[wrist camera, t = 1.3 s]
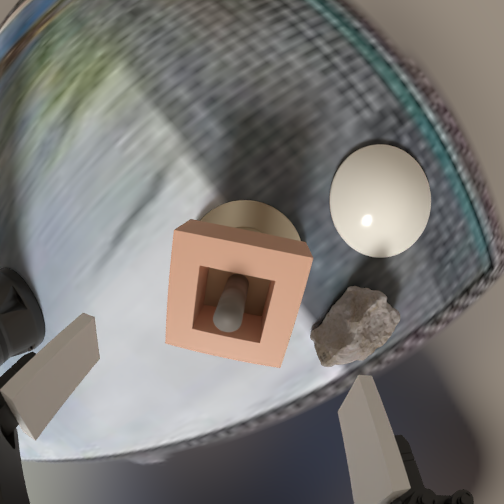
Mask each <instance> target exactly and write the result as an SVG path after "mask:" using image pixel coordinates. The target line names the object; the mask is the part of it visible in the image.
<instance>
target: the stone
mask: <svg viewBox="0 0 504 504" xmlns="http://www.w3.org/2000/svg"><path fill="white" fill-rule="evenodd" d="M386 301H387V297H386V295H384V294H383V293H382V292H381V291H378V290H374V291H373V290H370V289H369V288H360V287H357V286H350V287H348V288H347V290H346V291H345V293H344V294H343V296H342V297H341V298H340V299H339V300H338V301H337V302H336V303H335V305H333V306H332V307H331V309H330V311H329V313H327V314H326V317H325V319H324V320H323V322H322V324H321V325H320V326H319V327H318V328H316V329H313V330H312V331H311V335H310V338H311V340H313V341H314V344H315V349H316V352H317V355H318V358H319V360H320V361H321V365H322V366H324V367H331V366H333V365H335V364H336V365H341V364H347V363H349V362H353V361H355V360H365V358H367V357H368V356H369V355H371V354H372V353H373V352H374V351H375V349H376V348H378V347H381V346H383V344H385V343H386V342H387V339H388V338H390V336H391V335H392V332H394V330H395V327H396V325H397V324H398V322H399V321H400V313H399V312H398V310H396V309H395V308H392V307H391V306H390V305H389V304H388V303H387V302H386Z"/></svg>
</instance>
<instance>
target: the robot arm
mask: <svg viewBox="0 0 504 504" xmlns="http://www.w3.org/2000/svg"><path fill="white" fill-rule="evenodd" d="M44 336H45V326H44V321H43V317H42V313H41V311H40V308H39V305H38V303H37V301H36V299H35V297H34V295H33V293H32V292H31V290H30V288H29V287H28V285H27V284H26V283H25V281H24V280H23V279H22V278H21V277H20V276H19V275H18V274H17V273H16V272H15V271H13V270H11V269H9V268H2V269H0V366H1V365H2V364H3V363H4V362H5V361H6V360H8V359H9V358H10V357H13V356H16V355H19V354H22V353H25V352H27V351H31V350H33V349H35V348H36V347H37V346H38V345H39V344H41V343H42V341H43V339H44ZM99 359H100V355H99V349H98V341H97V334H96V325H95V317H93V316H90V315H88V314H85V313H82V314H81V315H80V316H79V317H78V318H76V319H75V320H74V321H73V322H72V323H71V324H69V325H68V326H67V327H66V328H65V329H64V330H63V331H61V332H60V333H59V334H58V335H57V336H56V337H55V338H54V339H52V340H51V341H50V342H49V343H48V344H47V345H46V346H45V347H44V348H43V349H41V350H40V351H39V352H38V353H37V354H36V353H34V352H30V353H28V354H26V355H24V356H22V357H21V358H20V359H19V360H18V361H17V363H15V364H14V365H13V366H12V367H11V368H9V369H8V370H7V371H6V372H5V373H4V374H3V375H2V376H1V377H0V504H30V502H29V498H28V494H27V490H26V485H25V480H24V476H23V470H22V464H21V458H20V450H19V442H18V433H17V429H16V427H17V426H18V425H19V426H20V427H21V429H22V430H23V432H24V433H26V434H27V435H28V436H30V437H31V438H33V439H34V440H35V441H36V440H37V438H38V437H39V435H40V434H41V433H42V431H43V430H44V429H45V427H46V426H47V425H48V423H49V422H50V421H51V419H52V418H53V417H54V415H55V414H56V413H57V411H58V410H59V409H60V408H61V406H62V405H63V404H64V402H65V401H66V400H67V399H68V397H69V396H70V395H71V393H72V392H73V391H74V390H75V388H76V387H77V386H78V385H79V383H80V382H81V381H82V380H83V378H84V377H85V376H86V375H87V374H88V372H89V371H90V370H91V369H92V367H93V366H94V365H95V364H96V363H97V361H98V360H99ZM338 415H339V419H340V424H341V430H342V435H343V440H344V445H345V451H346V456H347V461H348V468H349V473H350V479H351V486H352V492H353V499H354V504H473V502H474V501H473V496H472V494H471V493H470V492H469V491H467V490H464V489H463V490H459V491H457V492H455V493H454V494H453V495H451V496H441V495H436V494H435V493H434V492H433V491H432V490H430V489H426V488H425V487H424V485H423V482H422V479H421V476H420V473H419V470H418V468H417V465H416V462H415V461H414V456H413V454H412V451H411V448H410V445H409V443H408V441H407V440H406V439H405V438H404V437H403V436H402V435H395V436H394V434H393V431H392V429H391V425H390V423H389V420H388V417H387V414H386V412H385V409H384V407H383V404H382V401H381V398H380V396H379V393H378V391H377V388H376V386H375V383H374V381H373V378H372V376H365V375H358V376H357V378H356V380H355V382H354V384H353V386H352V388H351V389H350V391H349V393H348V395H347V397H346V398H345V400H344V402H343V404H342V405H341V407H340V409H339V410H338Z"/></svg>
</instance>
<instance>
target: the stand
mask: <svg viewBox="0 0 504 504" xmlns="http://www.w3.org/2000/svg"><path fill="white" fill-rule="evenodd" d="M200 221H203V222H209V223H214V224H219V225H224V226H229V227H234V228H239V229H244V230H249V231H254V232H259V233H264V234H269V235H274V236H279V237H283V238H288V239H293V240H298V241H301V240H300V237H299V235H298V232H297V231H296V229H295V227H294V225H293V224H292V223H291V221H290V220H289V219H288V218H287V217H286V216H285V215H284V214H283V213H281V212H280V211H279V210H277V209H276V208H274V207H272V206H270V205H268V204H265V203H262V202H259V201H253V200H236V201H231V202H228V203H225V204H222V205H220V206H218V207H216V208H215V209H213V210H211V211H210V212H209V213H207V214H206V215H205V216H204V217H203V218H202V219H201V220H200ZM269 284H270V280H268V279H263V278H258V277H253V276H248V275H243V274H238V273H233V272H229V271H224V270H219V269H214V268H210V267H209V271H208V278H207V285H206V292H205V300H204V304H205V305H209V306H214V307H217V308H216V310H215V313H214V316H213V322H214V324H215V326H216V327H217V328H218V329H219V330H221V331H224V332H233V331H236V330H237V329H239V327H240V326H241V323H242V318H243V313H247V314H252V315H257V316H262V313H263V309H264V305H265V301H266V297H267V292H268V288H269Z"/></svg>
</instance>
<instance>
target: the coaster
mask: <svg viewBox="0 0 504 504" xmlns="http://www.w3.org/2000/svg"><path fill="white" fill-rule="evenodd" d="M329 206H330V213H331V217H332V220H333V223H334V226H335V228H336V230H337V231H338V233H339V234H340V236H341V237H342V238H343V240H344V241H345V242H346V243H347V244H348V245H349V246H351V247H352V248H353V249H355V250H356V251H358V252H360V253H362V254H364V255H367V256H370V257H377V258H383V257H390V256H394V255H397V254H399V253H401V252H403V251H405V250H406V249H408V248H409V247H410V246H411V245H413V244H414V243H415V242H416V241H417V239H418V238H419V237H420V235H421V234H422V232H423V230H424V229H425V226H426V224H427V221H428V218H429V214H430V208H431V194H430V188H429V184H428V180H427V178H426V175H425V173H424V172H423V170H422V168H421V167H420V165H419V164H418V163H417V161H416V160H415V159H414V158H413V157H412V156H410V155H409V154H408V153H406V152H405V151H403V150H401V149H399V148H397V147H394V146H390V145H384V144H377V145H370V146H366V147H363V148H361V149H359V150H357V151H355V152H353V153H352V154H351V155H349V156H348V157H347V158H346V159H345V160H344V161H343V162H342V164H341V165H340V166H339V168H338V170H337V171H336V173H335V175H334V178H333V180H332V184H331V187H330V194H329Z"/></svg>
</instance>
